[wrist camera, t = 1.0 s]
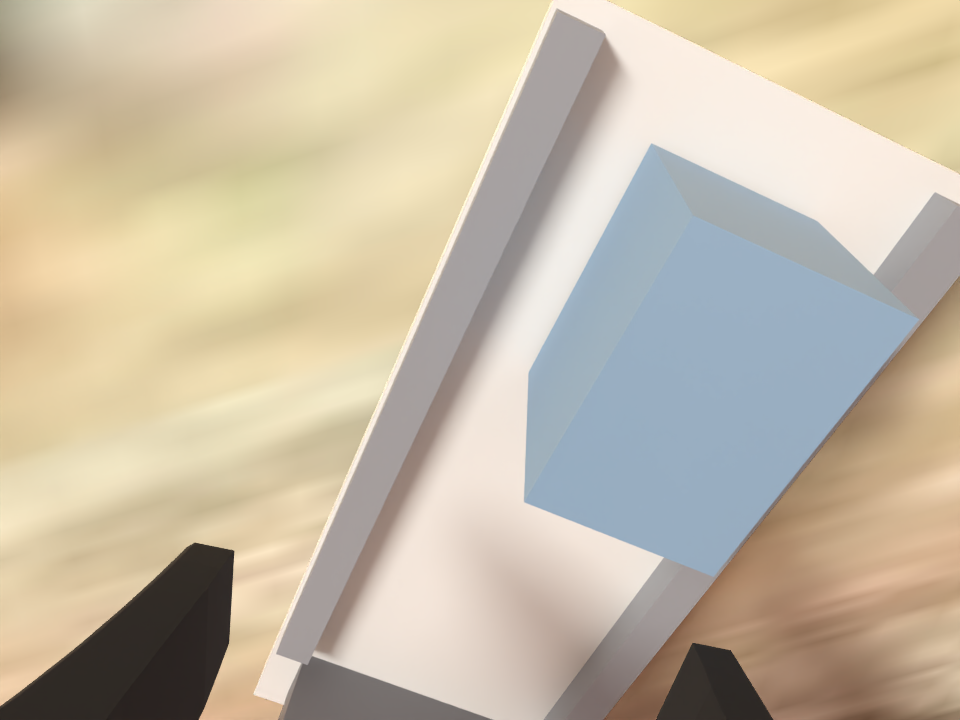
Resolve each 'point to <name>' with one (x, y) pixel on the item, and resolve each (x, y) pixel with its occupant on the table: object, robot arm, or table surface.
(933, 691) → the table surface
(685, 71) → the rail board
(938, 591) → the table surface
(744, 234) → the block
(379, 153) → the table surface
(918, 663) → the table surface
